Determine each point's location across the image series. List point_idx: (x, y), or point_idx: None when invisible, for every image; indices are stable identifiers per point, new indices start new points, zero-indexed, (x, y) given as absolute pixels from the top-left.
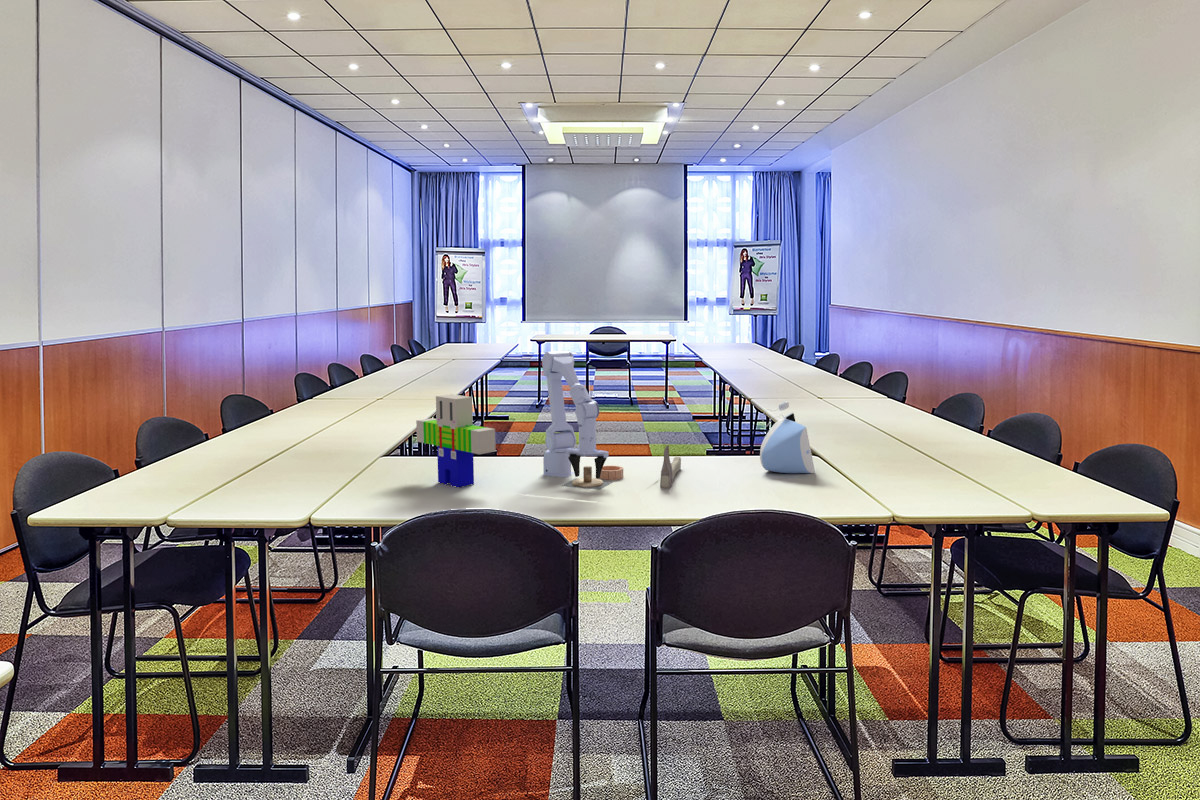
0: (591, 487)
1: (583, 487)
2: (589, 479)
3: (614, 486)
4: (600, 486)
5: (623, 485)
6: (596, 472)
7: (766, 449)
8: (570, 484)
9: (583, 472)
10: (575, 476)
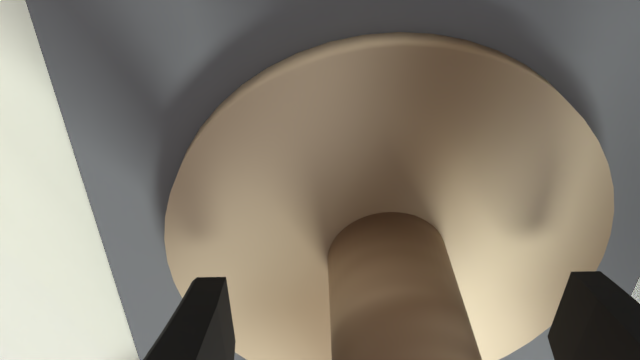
0: (232, 69)
1: (356, 17)
2: (345, 260)
3: (62, 287)
4: (145, 172)
5: (10, 345)
6: (180, 352)
7: None
8: (619, 125)
9: (477, 348)
10: (598, 272)
